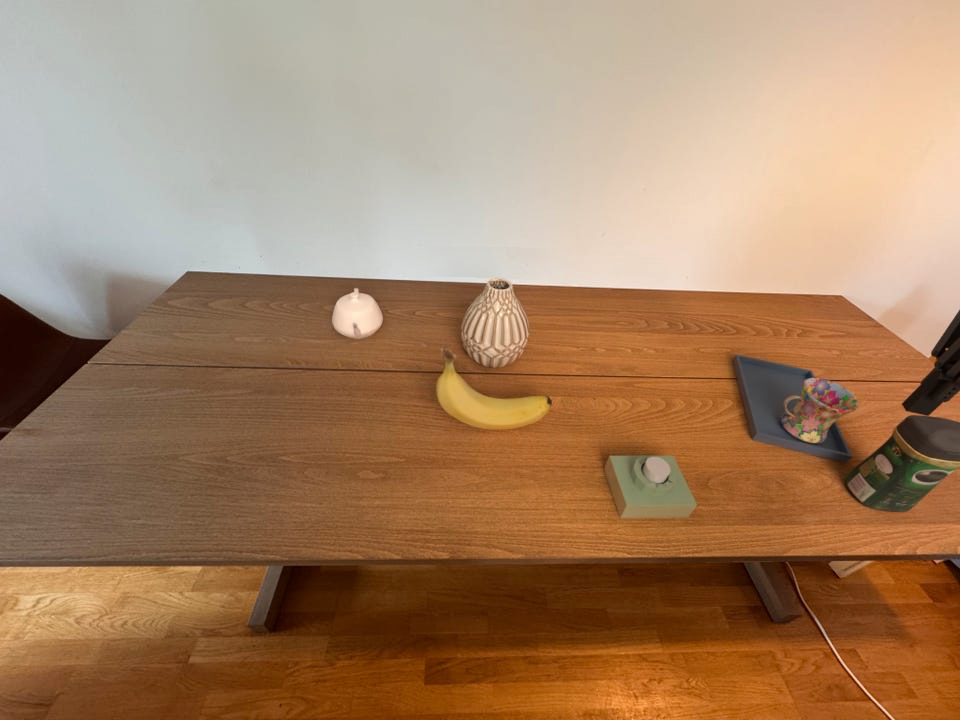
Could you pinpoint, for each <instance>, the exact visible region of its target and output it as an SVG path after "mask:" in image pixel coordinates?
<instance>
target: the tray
mask: <svg viewBox="0 0 960 720" xmlns="http://www.w3.org/2000/svg"><path fill="white" fill-rule="evenodd" d="M732 364H733V368H734V373H735V377H736V381H737V385H738V388H739V393H740V397H741V400H742V404H743V405H742V406H743V408H744V413H745V416H746V420H747V425H748V428H749V432H750V436H751V440H752V441H755V442H759V443H763V444H767V445H771V446H776V447H779V448H782V449H783V448H784V449H786V450H787V449H788V450H791V451H795V452H800V453H802V454H803V453H804V454H808V455H811V456H815V457H820V458H823V459H827V460H832V461H836V462H838V463H839V462H840V463H844V464H847V463H848V462H849V461H850V460H851V459H852V458H853V455H852V452H851V450H850V448H849V445H848V444H847V441H846V440H845V437H844V435H843V432H842V431H841V429H840V427H839V424H838V423H837V420H836V421H835V422H834V423H833V424H832V425H831V426H830V428H829V429H828V432H827V438H826V440H825V441H823V442H821V443H809V442H805V441H803V440H800V439H798V438H796V437H794V436H793V435H791V434H790V433H789V432H788V431H787V430H786V429H785V428H784V427H783V426H782V424H781V420H780V418H781V415H782V414H783V413H785V412H786V411H785V409H784V406H783V404H784V401H785V400H786V399H787V398H788V397H791V396H801V393H802V385H803V382H804V381H805V380H807V379H809V378H816V376H815V374H814V372H813V370H811V369H808V368H802V367H798V366H793V365H787V364H783V363H779V362H774V361H769V360H764V359H761V358H755V357H751V356H745V355H741V354H735V355H734V356H733V358H732ZM798 401H799V399H793V400H790V401H789V402H788V403H787V410H788V411H790V410H791V409H792V408H793V407H794V406H795V405H796V404H797V403H798Z"/></svg>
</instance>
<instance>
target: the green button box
mask: <svg viewBox="0 0 960 720" xmlns="http://www.w3.org/2000/svg"><path fill="white" fill-rule="evenodd" d="M650 457H659V458H661V459H663V460H665V461H666V462H667V463H668V464H669V466H670V470H671V471H670V474H669V475H668V477H667V479H666V481H665V482H663V483H660V484H657V483H654V482H651V481H649V480H648V479H647V478H646V477H645V476H644V475H643V472H642V468H643V466H644V464H645V462H646V460H647V459H648V458H650ZM603 470H604V473H605V477H606V479H607V483H608V485H609V488H610V492H611V495H612V498H613V501H614V504H615V506H616V510H617V513H618V516H619V519H672V518H673V519H676V518H677V519H679V518H681V519H682V518H686V519H687V518H689V517H690V516H691V515H692V514H693V512H694V510H695V509H696V507H697V506H698V503H697V501H696V499H695V497H694V495H693V493H692V491H691V489H690V487H689V485H688V482H687V481H686V479H685V477H684V475H683V473H682V470H681V468H680V466H679V465H678V462H677V460H676V458H675V457H674V455H670V454H669V455H665V454H664V455H609V456H608V458H607V460H606V463H605V465H604V467H603Z"/></svg>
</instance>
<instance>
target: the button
mask: <svg viewBox="0 0 960 720" xmlns="http://www.w3.org/2000/svg"><path fill="white" fill-rule="evenodd" d="M670 471H671V470H670V466H669V464H668V463H667V462H666V461H665V460H663V459H661V458H659V457H650V458H648V459H647V460H646V462H645V464H644V466H643V468H642V472H643V475H644V476H645V477H646V478H647V479H648V480H649V481H651V482H654V483H657V484H660V483H663V482H665V481H666V479H667V477H668V475H669V474H670Z"/></svg>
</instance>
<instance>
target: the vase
mask: <svg viewBox="0 0 960 720" xmlns="http://www.w3.org/2000/svg"><path fill="white" fill-rule="evenodd" d="M460 326H461V327H460V338H461V343H462V346H463V348H464V350H465V353H466V354H467V355H468V357H469V358H470V359H471V360H473V361H474V362H475V363H477V364H479V365H480V366H483V367H487V368H493V369H494V368H497V369H498V368H503V367H507V366H509V365H511V364H513V363H515V362H516V361H517V360H518V359H519V358H520V357H521V356H522V355H523V353H524V352H525V350H526V349H527V346H528V343H529V339H530V331H531V330H530V322H529V318H528V315H527V312H526V310H525V308H524V307H523V305H522V303H521V301H520V300H519V298H517V296H516V294H515V290H514V286H513V283H512V282H511V281H510V280H508V279H506V278H502V277H494V278H491V279H488V281H487V282H486V284H485V287H484V289H483V291H482V292H481V293H480V294H479V295H478V296H476V298H474V300H473V301H472V302H471V303H470V305H469V306H468V307H467V309H466V311H465V313H464V316H463V318H462V321H461V324H460Z"/></svg>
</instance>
